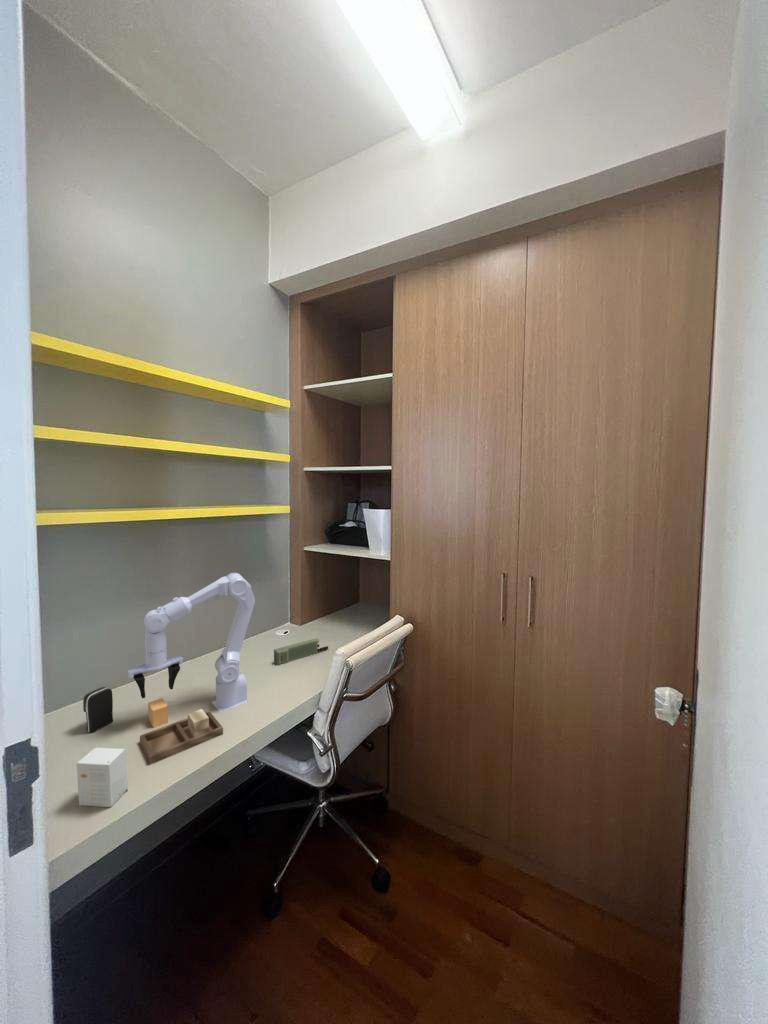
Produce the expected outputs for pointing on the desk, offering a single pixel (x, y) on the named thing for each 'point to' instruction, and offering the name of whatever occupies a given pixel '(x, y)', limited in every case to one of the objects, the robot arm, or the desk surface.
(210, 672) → the desk surface
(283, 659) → the handheld radio
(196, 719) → the maple block
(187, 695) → the desk surface
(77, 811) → the desk surface
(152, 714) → the plug block
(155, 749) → the slot rack
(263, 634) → the desk surface
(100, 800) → the small box
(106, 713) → the battery charger
